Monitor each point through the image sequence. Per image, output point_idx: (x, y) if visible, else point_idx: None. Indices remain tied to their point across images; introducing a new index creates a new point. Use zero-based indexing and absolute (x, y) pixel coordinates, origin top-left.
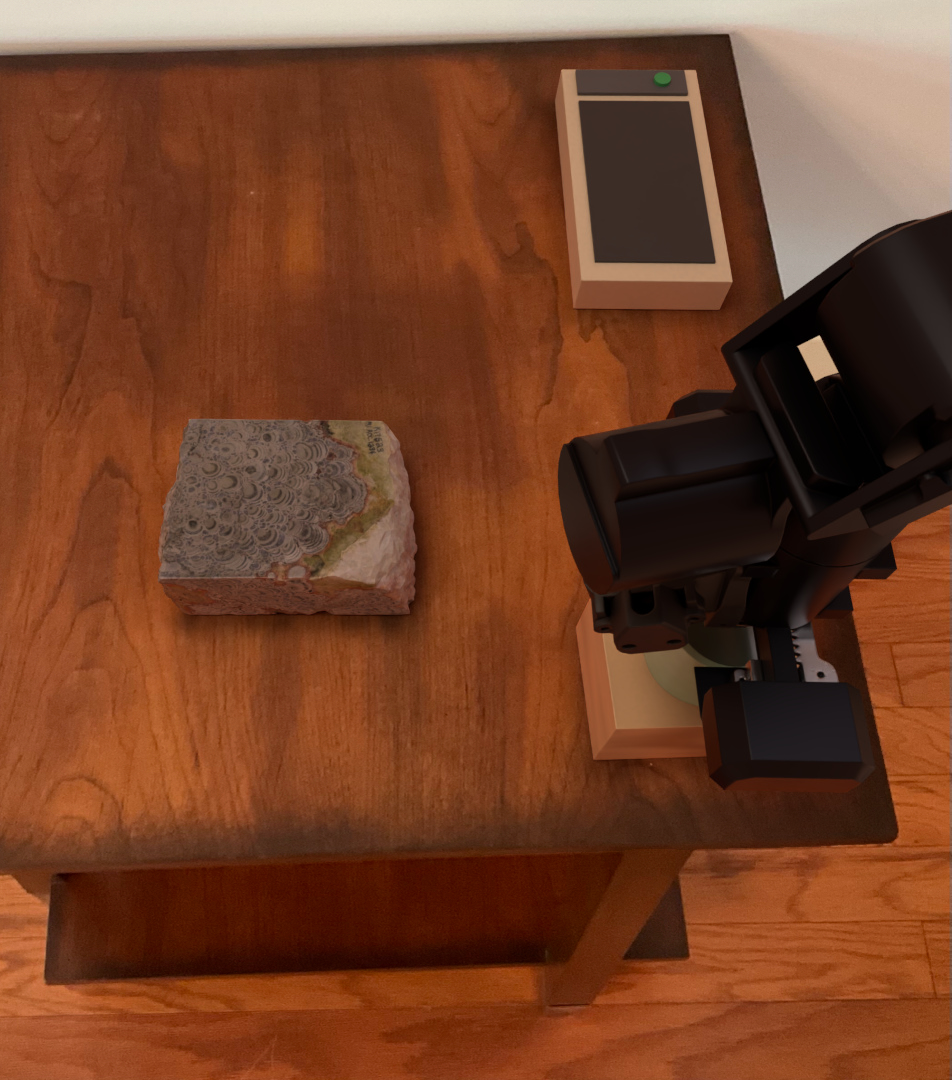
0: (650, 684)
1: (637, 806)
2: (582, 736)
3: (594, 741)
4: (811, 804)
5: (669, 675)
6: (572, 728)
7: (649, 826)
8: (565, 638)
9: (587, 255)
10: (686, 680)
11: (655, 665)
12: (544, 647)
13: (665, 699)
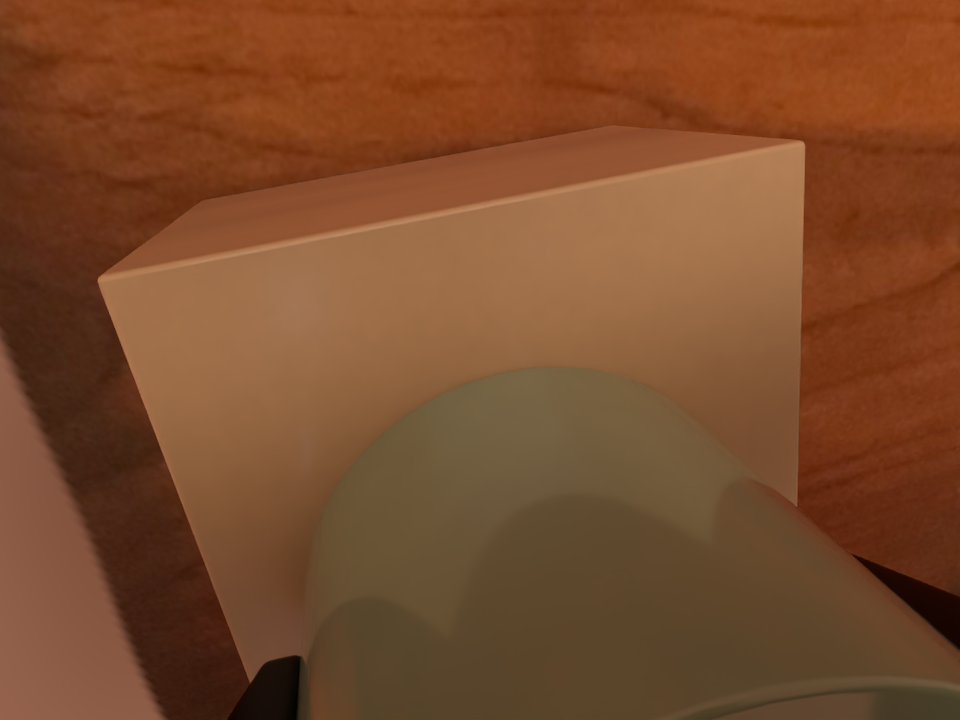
0: (365, 410)
1: (92, 336)
2: (270, 163)
3: (237, 198)
4: (229, 703)
5: (367, 537)
6: (290, 130)
7: (42, 372)
8: (577, 95)
9: None
10: (324, 653)
11: (429, 449)
12: (543, 25)
13: (307, 474)
